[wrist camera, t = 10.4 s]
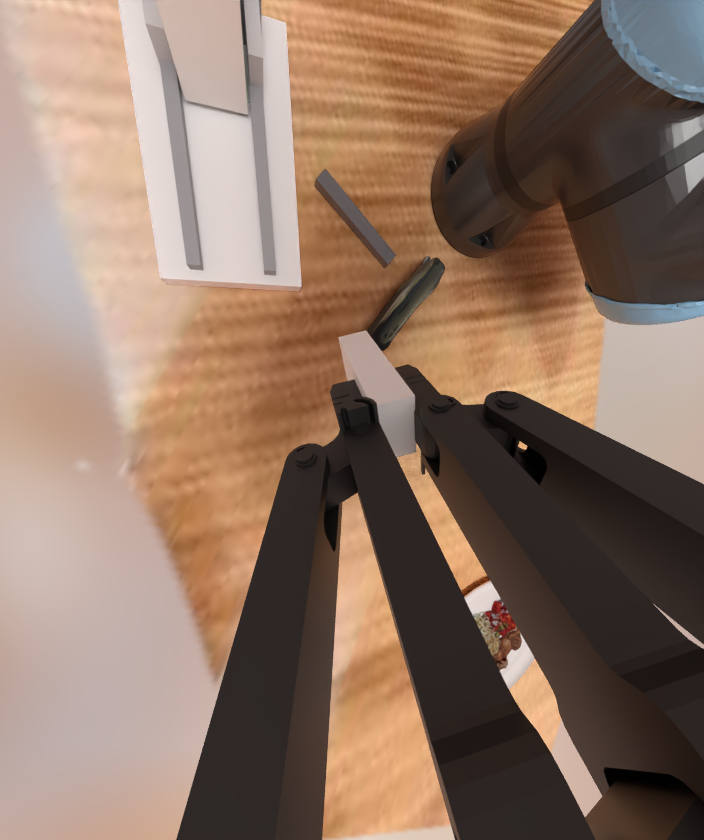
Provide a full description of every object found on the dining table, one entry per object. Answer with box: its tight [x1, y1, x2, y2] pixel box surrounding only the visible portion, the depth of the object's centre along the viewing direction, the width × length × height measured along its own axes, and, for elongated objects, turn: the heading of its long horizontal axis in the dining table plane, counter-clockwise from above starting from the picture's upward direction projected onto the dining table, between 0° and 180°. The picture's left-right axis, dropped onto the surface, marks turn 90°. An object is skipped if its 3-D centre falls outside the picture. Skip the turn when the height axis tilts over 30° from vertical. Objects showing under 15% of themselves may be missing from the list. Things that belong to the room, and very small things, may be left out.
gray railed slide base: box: [118, 0, 302, 292], centre depth 24 cm, size 24×14×8 cm, turn 1°
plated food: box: [464, 581, 535, 689], centre depth 53 cm, size 30×30×3 cm
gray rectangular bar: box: [315, 169, 396, 268], centre depth 33 cm, size 12×2×2 cm, turn 48°
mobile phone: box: [367, 256, 445, 351], centre depth 34 cm, size 5×3×15 cm
